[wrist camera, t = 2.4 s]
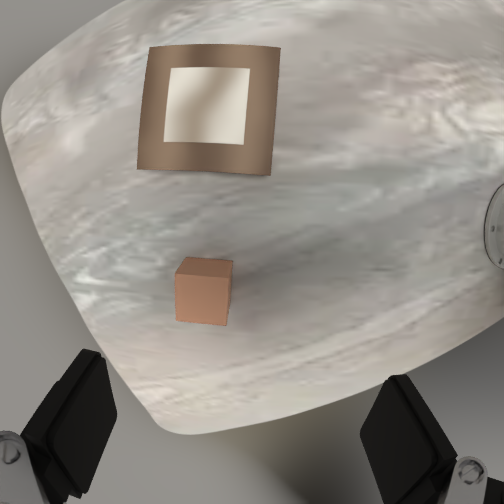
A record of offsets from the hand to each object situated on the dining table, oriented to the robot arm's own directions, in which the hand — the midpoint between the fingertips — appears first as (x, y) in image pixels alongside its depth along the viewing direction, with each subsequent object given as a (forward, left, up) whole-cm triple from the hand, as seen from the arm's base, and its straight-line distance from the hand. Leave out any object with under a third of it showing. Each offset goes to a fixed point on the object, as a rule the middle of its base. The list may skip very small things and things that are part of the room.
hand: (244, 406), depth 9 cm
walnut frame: (+12, -4, -23) cm, 27 cm away
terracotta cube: (-2, +7, -23) cm, 24 cm away
